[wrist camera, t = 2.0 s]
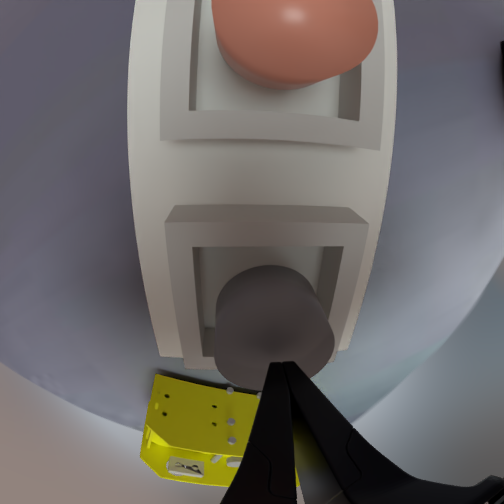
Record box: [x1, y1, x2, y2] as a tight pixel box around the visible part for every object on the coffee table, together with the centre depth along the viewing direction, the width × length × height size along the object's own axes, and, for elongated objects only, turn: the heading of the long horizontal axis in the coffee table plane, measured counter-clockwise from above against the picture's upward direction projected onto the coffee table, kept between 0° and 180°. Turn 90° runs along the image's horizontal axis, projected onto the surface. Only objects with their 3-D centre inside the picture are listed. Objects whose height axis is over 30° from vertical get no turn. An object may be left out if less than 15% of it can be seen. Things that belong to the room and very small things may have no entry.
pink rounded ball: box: [211, 0, 378, 90], centre depth 6 cm, size 4×4×3 cm
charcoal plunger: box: [214, 265, 335, 391], centre depth 11 cm, size 4×4×3 cm
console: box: [127, 0, 397, 369], centre depth 12 cm, size 12×22×5 cm, turn 178°
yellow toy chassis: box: [140, 374, 300, 487], centre depth 20 cm, size 16×6×8 cm, turn 68°
